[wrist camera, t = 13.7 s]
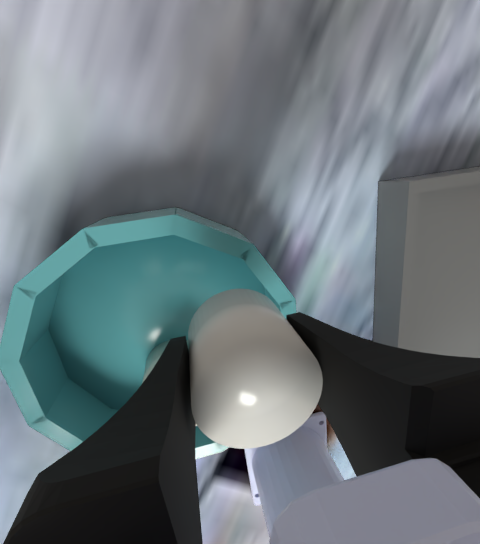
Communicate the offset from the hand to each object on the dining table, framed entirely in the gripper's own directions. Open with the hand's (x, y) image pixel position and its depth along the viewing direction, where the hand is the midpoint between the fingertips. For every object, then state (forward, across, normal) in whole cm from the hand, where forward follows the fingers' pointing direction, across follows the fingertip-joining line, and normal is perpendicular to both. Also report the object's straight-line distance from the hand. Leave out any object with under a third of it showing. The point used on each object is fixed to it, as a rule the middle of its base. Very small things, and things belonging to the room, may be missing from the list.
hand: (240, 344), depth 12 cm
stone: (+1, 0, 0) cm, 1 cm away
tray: (+9, -21, +6) cm, 24 cm away
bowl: (+9, +4, +3) cm, 10 cm away
